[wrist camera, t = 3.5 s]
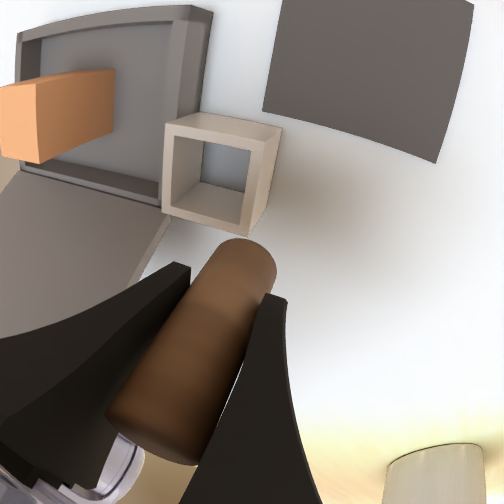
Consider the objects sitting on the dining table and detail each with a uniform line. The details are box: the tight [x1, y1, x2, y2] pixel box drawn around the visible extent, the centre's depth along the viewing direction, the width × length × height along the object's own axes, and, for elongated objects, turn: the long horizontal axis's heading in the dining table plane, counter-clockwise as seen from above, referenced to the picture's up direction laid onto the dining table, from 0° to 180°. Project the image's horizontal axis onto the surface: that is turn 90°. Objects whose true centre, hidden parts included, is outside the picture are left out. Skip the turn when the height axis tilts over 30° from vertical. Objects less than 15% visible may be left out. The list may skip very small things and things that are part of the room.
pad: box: [262, 0, 474, 164], centre depth 11 cm, size 9×9×1 cm
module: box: [0, 69, 116, 164], centre depth 14 cm, size 4×4×6 cm
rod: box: [105, 238, 277, 466], centre depth 9 cm, size 2×2×7 cm
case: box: [0, 5, 282, 338], centre depth 13 cm, size 16×19×13 cm
